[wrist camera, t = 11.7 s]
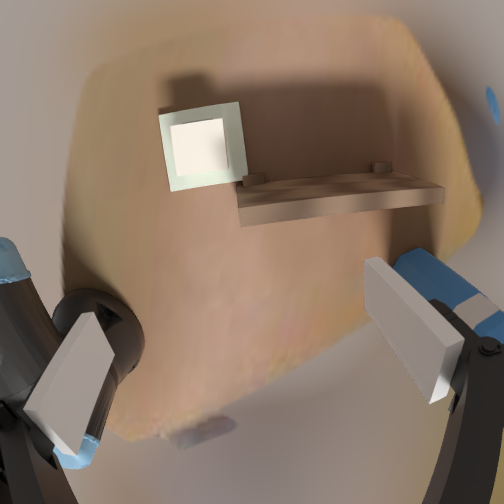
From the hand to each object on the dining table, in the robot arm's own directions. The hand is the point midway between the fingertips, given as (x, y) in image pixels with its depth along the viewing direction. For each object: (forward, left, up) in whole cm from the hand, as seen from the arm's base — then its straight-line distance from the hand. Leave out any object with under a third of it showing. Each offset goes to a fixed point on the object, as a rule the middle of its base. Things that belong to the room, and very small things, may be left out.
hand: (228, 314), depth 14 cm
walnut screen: (+11, +1, -24) cm, 26 cm away
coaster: (-2, +7, -24) cm, 25 cm away
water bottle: (+25, -14, -24) cm, 37 cm away
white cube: (-2, +7, -23) cm, 24 cm away
